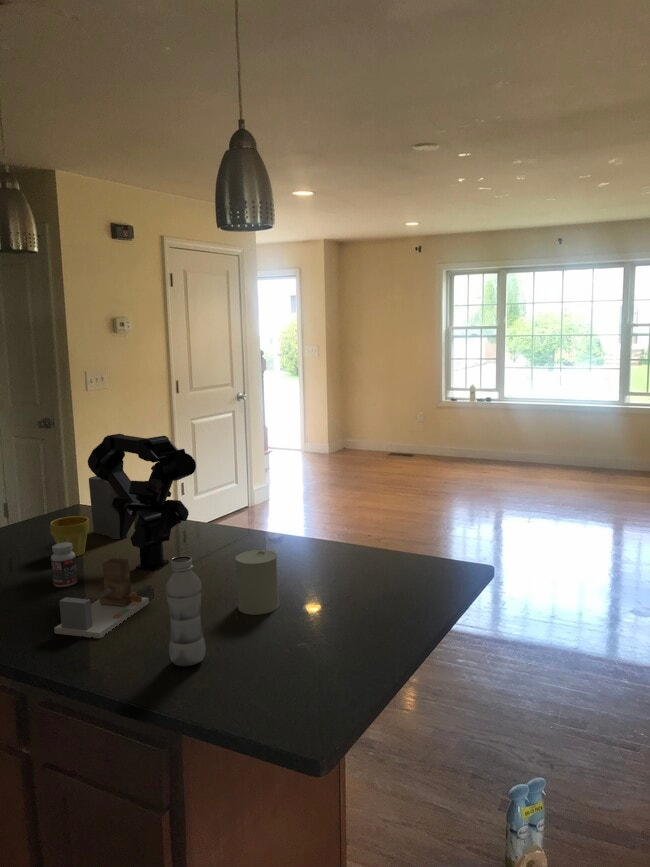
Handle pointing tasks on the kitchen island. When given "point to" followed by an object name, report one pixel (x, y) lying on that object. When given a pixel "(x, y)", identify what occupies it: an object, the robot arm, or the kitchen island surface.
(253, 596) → the can
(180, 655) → the plastic bottle
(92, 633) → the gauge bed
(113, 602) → the gauge slider
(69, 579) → the pill bottle
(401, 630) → the kitchen island surface
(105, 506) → the flask
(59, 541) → the plant pot
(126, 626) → the kitchen island surface
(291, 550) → the kitchen island surface
